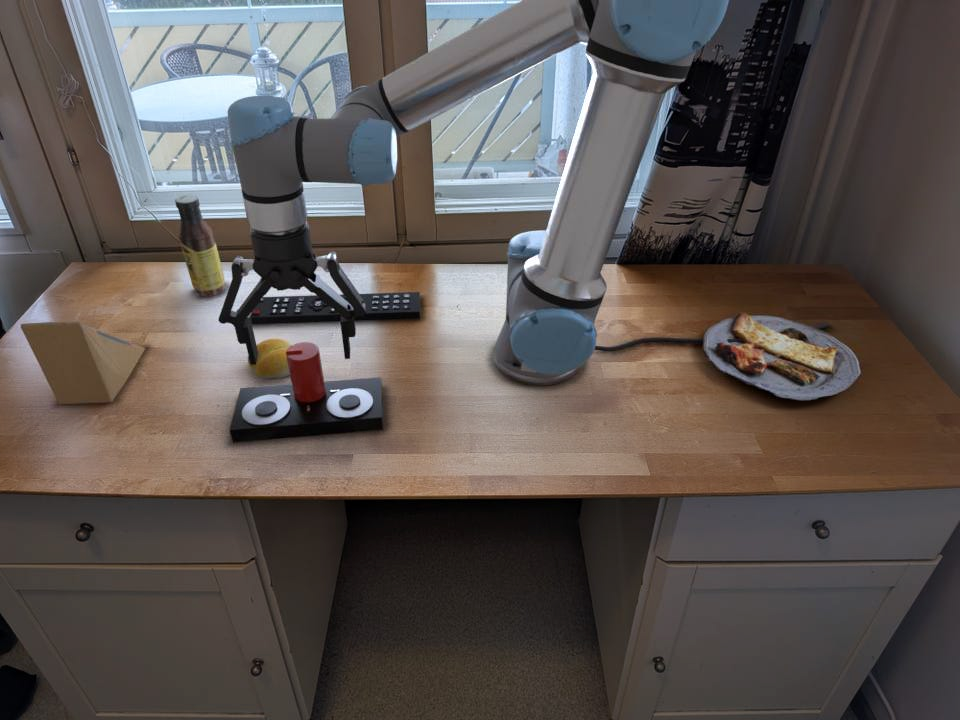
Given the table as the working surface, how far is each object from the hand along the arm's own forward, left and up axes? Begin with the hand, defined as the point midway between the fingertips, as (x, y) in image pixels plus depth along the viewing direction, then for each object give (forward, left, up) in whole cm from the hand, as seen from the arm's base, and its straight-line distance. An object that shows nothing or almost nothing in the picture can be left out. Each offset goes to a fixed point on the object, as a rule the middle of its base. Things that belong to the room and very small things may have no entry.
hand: (301, 356), depth 97 cm
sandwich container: (+35, -13, -10) cm, 38 cm away
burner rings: (0, +3, -7) cm, 8 cm away
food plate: (-79, -2, -10) cm, 80 cm away
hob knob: (0, 0, -7) cm, 7 cm away
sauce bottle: (+23, -40, -10) cm, 47 cm away
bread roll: (+7, -12, -10) cm, 17 cm away
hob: (0, +2, -10) cm, 10 cm away
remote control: (-3, -28, -10) cm, 30 cm away
